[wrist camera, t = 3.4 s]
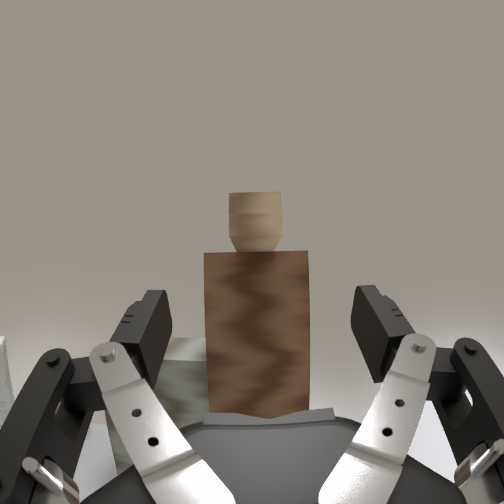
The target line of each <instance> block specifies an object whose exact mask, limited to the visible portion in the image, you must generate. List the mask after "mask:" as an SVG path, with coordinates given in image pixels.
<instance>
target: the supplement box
mask: <svg viewBox="0 0 504 504" xmlns="http://www.w3.org/2000/svg"><path fill="white" fill-rule="evenodd" d="M14 402H15V400H14V396H13V390H12V385H11V379H10V373H9V367H8V359H7V351H6V342H5V336H0V426H2V425H3V423H4V421H5V419H6V417H7V415H8V413H9V411H10V409H11V408H12V406H13V404H14Z"/></svg>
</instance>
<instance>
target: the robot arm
mask: <svg viewBox="0 0 504 504" xmlns="http://www.w3.org/2000/svg"><path fill="white" fill-rule="evenodd" d="M351 328H352V331H353V333H354V336H355V338H356V340H357V343H358V345H359V347H360V350H361V352H362V354H363V357H364V359H365V362H366V364H367V366H368V369H369V371H370V374H371V376H372V379H373V381H374V383H380V382H383V383H382V386H381V387H380V390H379V392H378V394H377V396H376V398H375V400H374V402H373V404H372V406H371V408H370V410H369V412H368V413H367V415H366V417H365V419H364V421H363V423H362V424H361V423H359V422H356V421H354V420H351V419H347V418H342V417H335V415H334V411H333V408H325V409H315V410H304V411H299V412H295V413H292V414H288V415H284V416H281V417H277V418H273V419H265V418H259V417H253V416H248V415H243V414H238V413H208V412H204V419H203V421H202V422H197V423H193V424H190V425H187V426H184V427H182V428H180V429H177V427H176V426H175V425H174V423H173V422H172V420H171V419H170V417H169V416H168V414H167V413H166V411H165V410H164V408H163V407H162V405H161V404H160V402H159V401H158V399H157V398H156V396H155V394H154V393H153V391H152V390H151V389H154V388H155V384H156V381H157V378H158V375H159V371H160V368H161V365H162V362H163V359H164V356H165V352H166V349H167V346H168V343H169V340H170V337H171V333H172V319H171V314H170V309H169V303H168V298H167V293H166V291H165V290H147V292H146V294H145V295H144V297H143V299H142V301H136V302H135V303H134V304H132V305H131V306H130V307H128V309H127V311H126V313H125V314H124V317H123V318H122V319H121V323H119V325H118V327H117V328H116V330H115V332H114V334H113V335H112V337H111V339H110V341H109V342H106V343H103V344H100V345H98V346H96V347H95V348H94V349H93V350H92V352H91V353H90V356H89V357H83V358H76V359H71V357H70V355H69V353H68V352H67V351H66V350H65V349H61V348H57V349H52V350H49V351H47V352H46V353H44V354H43V355H42V356H41V357H40V359H39V361H38V362H37V364H36V366H35V367H34V369H33V370H32V372H31V374H30V375H29V377H28V379H27V381H26V382H25V384H24V386H23V388H22V389H21V391H20V393H19V395H18V397H17V398H16V400H15V402H14V404H13V406H12V408H11V409H10V411H9V413H8V415H7V417H6V419H5V421H4V423H3V425H2V427H1V429H0V504H79V489H78V487H77V485H76V483H75V482H74V481H73V477H74V473H75V470H76V466H77V463H78V460H79V456H80V453H81V450H82V447H83V443H84V440H85V437H86V434H87V431H88V428H89V425H90V422H91V419H92V416H93V413H94V411H100V410H108V412H109V414H110V416H111V418H112V421H113V423H114V425H115V427H116V429H117V431H118V434H119V436H120V438H121V440H122V442H123V444H124V446H125V448H126V450H127V452H128V454H129V455H130V457H131V459H132V461H133V463H134V464H133V465H131V466H130V467H129V468H127V469H126V470H125V471H123V472H122V473H121V474H119V475H118V476H116V477H115V478H114V479H112V480H111V481H110V482H108V483H107V484H105V485H104V486H102V487H101V488H100V489H98V490H97V491H95V492H94V493H92V494H91V495H89V496H88V497H87V498H85V499H84V500H83V501H82V502H81V503H80V504H504V377H503V375H502V374H501V372H500V371H499V369H498V368H497V366H496V365H495V363H494V362H493V360H492V359H491V358H490V356H489V354H488V353H487V352H486V350H485V349H484V347H483V346H482V345H481V344H480V343H479V342H477V341H476V340H473V339H471V338H461V339H458V340H457V341H456V342H455V345H454V347H453V349H452V348H439V347H436V345H435V343H434V342H433V341H432V340H431V339H430V338H429V337H427V336H425V335H422V334H416V333H415V331H414V330H413V328H412V327H411V325H410V324H409V322H408V321H407V319H406V318H405V317H404V316H403V313H402V312H401V311H400V310H399V308H398V306H397V305H396V304H395V302H394V301H393V300H391V299H390V298H388V297H387V296H382V295H381V294H380V292H379V291H378V289H377V288H376V286H375V285H364V286H357V287H356V290H355V296H354V302H353V308H352V313H351ZM466 389H467V390H468V392H469V393H470V395H471V397H472V401H473V406H471V404H470V402H469V400H468V398H467V396H466V394H465V391H466ZM426 400H429V401H432V403H433V405H434V407H435V409H436V412H437V414H438V417H439V419H440V421H441V424H442V426H443V428H444V431H445V434H446V436H447V439H448V441H449V444H450V446H451V449H452V452H453V454H454V457H455V460H456V463H457V466H458V467H457V469H456V471H455V474H454V481H455V483H452V482H451V481H449V480H448V479H446V478H444V477H443V476H441V475H439V474H438V473H436V472H434V471H433V470H431V469H430V468H428V467H426V466H424V465H423V464H422V463H420V462H418V461H417V460H415V459H414V458H412V457H411V456H409V455H407V452H408V450H409V447H410V445H411V442H412V439H413V437H414V434H415V431H416V428H417V425H418V422H419V420H420V417H421V414H422V411H423V407H424V404H425V401H426ZM59 402H60V405H59ZM58 405H59V407H58ZM57 407H58V409H57ZM56 409H57V412H56ZM55 412H56V414H55Z"/></svg>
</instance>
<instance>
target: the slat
mask: <svg viewBox="0 0 504 504" xmlns="http://www.w3.org/2000/svg"><path fill="white" fill-rule="evenodd" d="M229 237H230V239H231V241H232V243H233V245H234V247H235V249H236V251H237V252H269V251H274V250H275V248H276V246H277V244H278V242H279V241H280V238H281V237H282V217H281V195H280V192H249V193H229Z"/></svg>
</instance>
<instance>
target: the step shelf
mask: <svg viewBox="0 0 504 504" xmlns="http://www.w3.org/2000/svg"><path fill="white" fill-rule="evenodd" d="M204 299H205V300H204V302H205V335H206V336H205V337H206V338H178V337H170V340H169V343H168V346H167V349H166V352H165V356H164V359H163V362H162V365H161V368H160V371H159V375H158V378H157V381H156V384H155V388H154V389H151V390H152V391H153V393H154V394H155V396H156V398H157V399H158V401H159V402H160V404H161V405H162V407H163V408H164V410H165V411H166V413H167V414H168V416H169V417H170V419H171V420H172V422H173V423H174V425H175V426H176V427H177V429H180V428H182V427H184V426H187V425H190V424H193V423H197V422H202V421H203V419H204V412H208V413H238V414H243V415H248V416H253V417H259V418H265V419H273V418H277V417H281V416H284V415H288V414H292V413H295V412H299V411H304V410H309V394H310V393H309V392H310V299H309V266H308V251H269V252H226V253H225V252H224V253H204ZM105 415H106V421H107V427H108V432H109V437H110V442H111V447H112V451H113V455H114V460H115V464H116V468H117V472H118V475H119V474H121V473H122V472H123V471H125V470H126V469H127V468H129V467H130V466H131V465H133V464H134V463H133V461H132V459H131V457H130V455H129V454H128V452H127V450H126V448H125V446H124V444H123V442H122V440H121V438H120V436H119V434H118V431H117V429H116V427H115V425H114V423H113V421H112V418H111V416H110V414H109V412H108V410H105Z"/></svg>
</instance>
